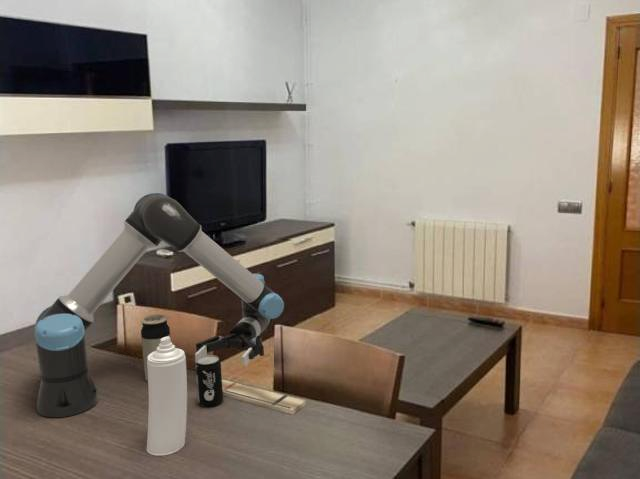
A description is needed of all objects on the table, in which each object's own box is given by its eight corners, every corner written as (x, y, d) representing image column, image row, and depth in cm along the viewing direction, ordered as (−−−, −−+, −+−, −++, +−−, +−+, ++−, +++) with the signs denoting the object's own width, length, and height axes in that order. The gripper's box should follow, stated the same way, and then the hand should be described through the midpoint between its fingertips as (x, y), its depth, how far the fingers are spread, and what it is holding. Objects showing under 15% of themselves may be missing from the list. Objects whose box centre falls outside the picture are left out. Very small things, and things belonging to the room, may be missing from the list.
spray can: (143, 434, 147) (134, 335, 142) (188, 425, 151) (180, 328, 146) (148, 459, 136) (138, 352, 131) (196, 448, 140) (188, 344, 135)
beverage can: (228, 401, 163) (225, 358, 161) (208, 410, 158) (204, 366, 156) (213, 394, 167) (210, 352, 165) (192, 402, 163) (189, 360, 160)
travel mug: (139, 378, 179) (134, 319, 175) (162, 369, 185) (157, 312, 181) (156, 385, 174) (150, 325, 170) (179, 376, 180) (174, 317, 176)
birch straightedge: (292, 414, 155) (292, 409, 154) (202, 390, 170) (202, 385, 170) (305, 404, 160) (305, 400, 159) (216, 381, 175) (216, 377, 175)
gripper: (284, 346, 187) (264, 375, 167) (207, 343, 192) (178, 370, 172) (283, 323, 185) (262, 349, 165) (205, 320, 191) (176, 345, 170)
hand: (219, 360), depth 168 cm, fingers open, 13 cm apart
